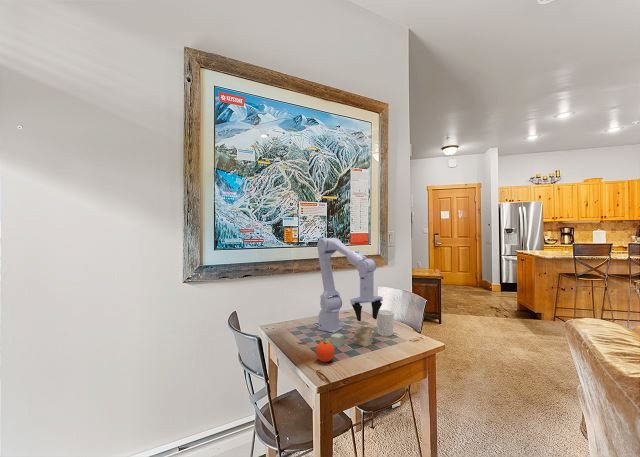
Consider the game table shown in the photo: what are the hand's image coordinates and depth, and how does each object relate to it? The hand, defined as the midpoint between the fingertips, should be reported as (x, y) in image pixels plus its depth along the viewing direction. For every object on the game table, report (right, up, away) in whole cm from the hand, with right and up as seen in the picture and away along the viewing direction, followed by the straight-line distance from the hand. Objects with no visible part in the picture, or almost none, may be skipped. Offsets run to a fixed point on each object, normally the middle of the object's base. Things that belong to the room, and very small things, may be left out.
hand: (366, 319), depth 125 cm
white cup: (+10, -10, +10) cm, 17 cm away
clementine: (-18, -10, -17) cm, 26 cm away
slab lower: (-2, -10, 0) cm, 10 cm away
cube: (-13, -10, -2) cm, 16 cm away
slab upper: (-2, -7, 0) cm, 7 cm away
